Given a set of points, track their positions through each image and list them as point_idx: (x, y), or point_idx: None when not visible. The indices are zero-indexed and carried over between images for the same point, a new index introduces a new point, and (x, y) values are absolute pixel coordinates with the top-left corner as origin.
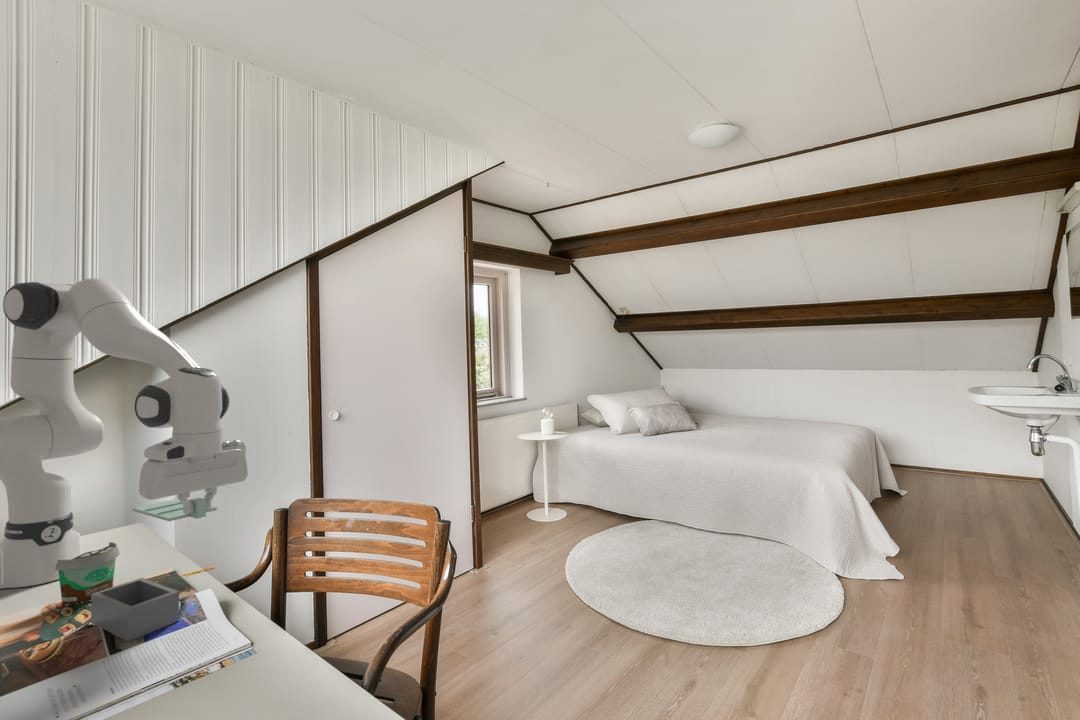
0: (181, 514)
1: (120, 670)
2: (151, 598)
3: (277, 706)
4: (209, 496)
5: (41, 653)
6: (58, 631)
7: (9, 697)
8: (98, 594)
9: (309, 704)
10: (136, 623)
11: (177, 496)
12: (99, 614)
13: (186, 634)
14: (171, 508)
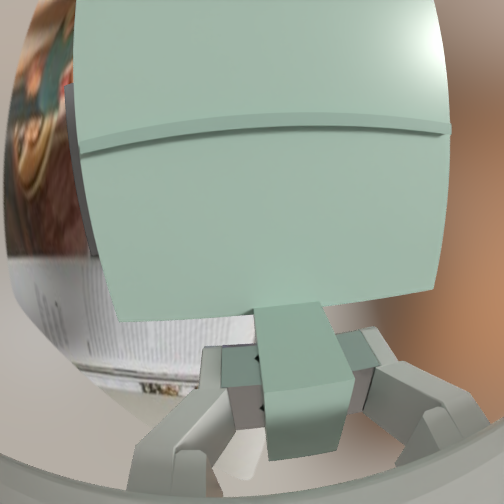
0: (207, 294)
1: (97, 314)
2: None
3: None
4: (390, 425)
5: (28, 162)
6: (57, 85)
7: (9, 269)
8: (71, 102)
9: (221, 465)
10: None
11: (135, 457)
12: None
13: None
14: (238, 27)
